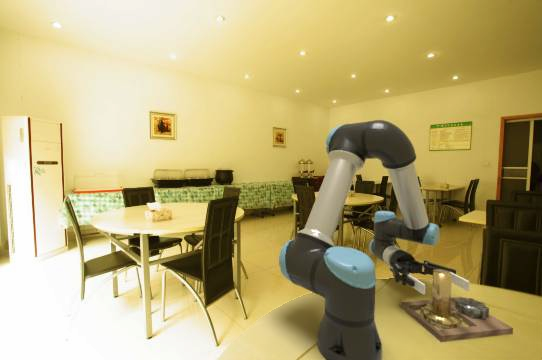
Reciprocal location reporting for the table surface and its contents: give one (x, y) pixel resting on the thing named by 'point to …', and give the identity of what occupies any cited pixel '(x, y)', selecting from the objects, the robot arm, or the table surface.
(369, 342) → the robot arm
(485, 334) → the plate
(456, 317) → the planet gear
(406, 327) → the table surface
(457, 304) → the sun gear
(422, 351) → the table surface
